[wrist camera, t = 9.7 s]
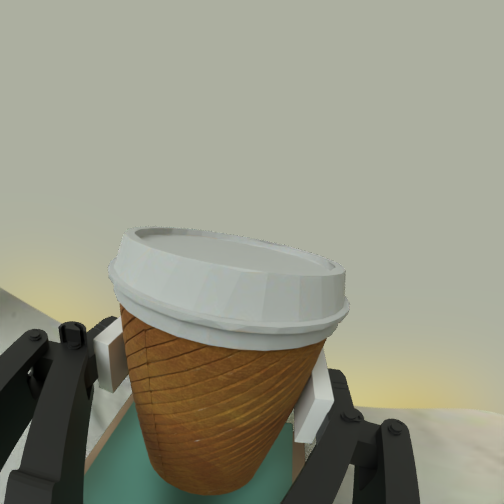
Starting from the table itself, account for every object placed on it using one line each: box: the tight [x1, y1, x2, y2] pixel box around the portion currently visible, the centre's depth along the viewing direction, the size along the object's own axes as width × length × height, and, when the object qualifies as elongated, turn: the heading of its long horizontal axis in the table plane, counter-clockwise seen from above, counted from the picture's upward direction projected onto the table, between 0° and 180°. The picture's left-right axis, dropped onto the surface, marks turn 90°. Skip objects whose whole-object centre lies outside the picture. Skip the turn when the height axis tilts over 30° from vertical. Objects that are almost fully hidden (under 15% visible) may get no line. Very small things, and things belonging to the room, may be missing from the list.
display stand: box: [83, 392, 305, 504], centre depth 14 cm, size 16×16×5 cm
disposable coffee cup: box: [108, 226, 350, 495], centre depth 12 cm, size 10×10×12 cm
